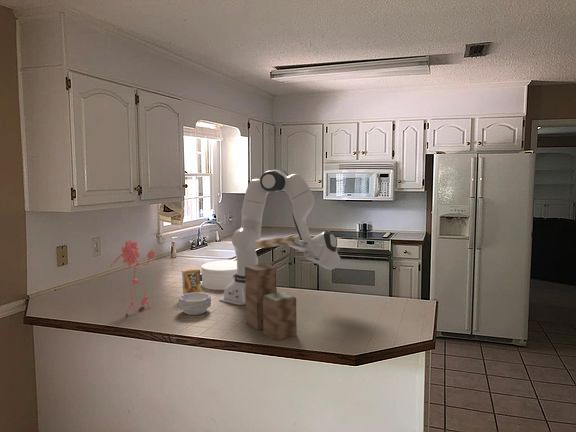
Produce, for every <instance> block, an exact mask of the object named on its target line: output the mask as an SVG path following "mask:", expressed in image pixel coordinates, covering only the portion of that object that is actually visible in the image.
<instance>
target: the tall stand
mask: <svg viewBox="0 0 576 432" xmlns="http://www.w3.org/2000/svg"><path fill="white" fill-rule="evenodd" d="M245 292H246V304H245V316H246V317H245V323H246V325H248V326H250V327H252V328H254V330H257V331H259V330H262V329H263V296H264V295H267V294H272V293H277V267H276V266H273V265H270V264H267V263H260V264H259V263H258V265H251V266H245Z"/></svg>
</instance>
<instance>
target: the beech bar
mask: <svg viewBox="0 0 576 432" xmlns="http://www.w3.org/2000/svg"><path fill="white" fill-rule="evenodd" d="M294 238H296V239H298V240H300V236H299V235H292V236H283V237H275V238H268V239H267V238H266V239H260V240H258V241H255V249H259V250H260V249H267V248H273V247H275V248H276V247H281V246H288V245H289V244H297V243H295V242H293V240H294Z"/></svg>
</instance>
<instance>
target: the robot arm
mask: <svg viewBox="0 0 576 432" xmlns="http://www.w3.org/2000/svg"><path fill="white" fill-rule="evenodd" d="M281 191H284V192H285V193H286V194H287V195H288V197H289V200H290V202H291V203H292V208H293V211H292V220H293V222H294V225H295V228H296V231H297V233H298V236H300V240H298V239H296V238H294V240H293V242H295V243H297V244H289V245H287V246H289V247H291V248H293V249H295V250H297V251H299V252H303V256H304V258H305V259H307V260H309V261H310V262H313V263H316V264H318V266H320V267H322V268H325V269H326V270H331V271H332V270H334V269H336V268H338V267H339V266H340V264H341V261H342V260H341V256H340V255H339V253H338V250H337V249H338V248H337V247H338V238H337V236H336V235H335V234H334V233H332V232H331V231H329V230H325V231H323V232H321V233H319V234H317V235H315V236H313V237H312V235H311V232H310V230H309V227H308V225H307V218H308V216H309V214H310V213H311V212H312V210H313V208H314V206H315V202H316V201H315V197H314V193H313V192H312V190H311V188H310V186H309V185H308V183H307V182H306V181H305V179H304V178H303V177H302V175H301V174H299V173H292V174H290V175H288V173H287V172H286V171H285V170H282V169H275V168H274V169H270V170H266V171H265V172H263V173H262V175H261V176H260V178H254V179H251V180H250V181H249V183H248V185H247V188H246V191H245V193H244V196H243V197H244V199H243V203H242V207H241V212H240V215H241V223H240V228H238V229H237V230H235V231H234V232H233V234H232V237H231V243H232V245H233V247H234V251H235V253H234V254H235V258H236V260H237V274H235V275H234V277H235V279H234V281H233V282H232V283H231V284H229V285H228V286H227V287H226V288H225V290H223V295H222V296H220V297H219V301H220V302H223V303H224V302H225V303H227V304H232V305H237V306H238V305H239V306H242V305H246V292H245V266H251V265H258V264H259V257H258V256H257V250H256V248H255V241H258V240H261V237H262V227H263V226H262V223H263V217H264V216H263V215H264V212H265V211H264V210H265V206H266V203H267V197H268V195H269V193H277V192H281ZM234 277H233V278H234Z"/></svg>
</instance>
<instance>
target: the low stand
mask: <svg viewBox="0 0 576 432" xmlns="http://www.w3.org/2000/svg"><path fill="white" fill-rule="evenodd" d="M297 330H298V329H297V297H295V296H294V294H293V295H292V294H289V293H288V292H285V291H278V292H277V293H272V294H267V295H264V296H263V334H264V335H266V336H267V337H269V338H271V339H273V340H275V341H280V340H283V339H288V338H292V337H296V336H297V332H298V331H297Z"/></svg>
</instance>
